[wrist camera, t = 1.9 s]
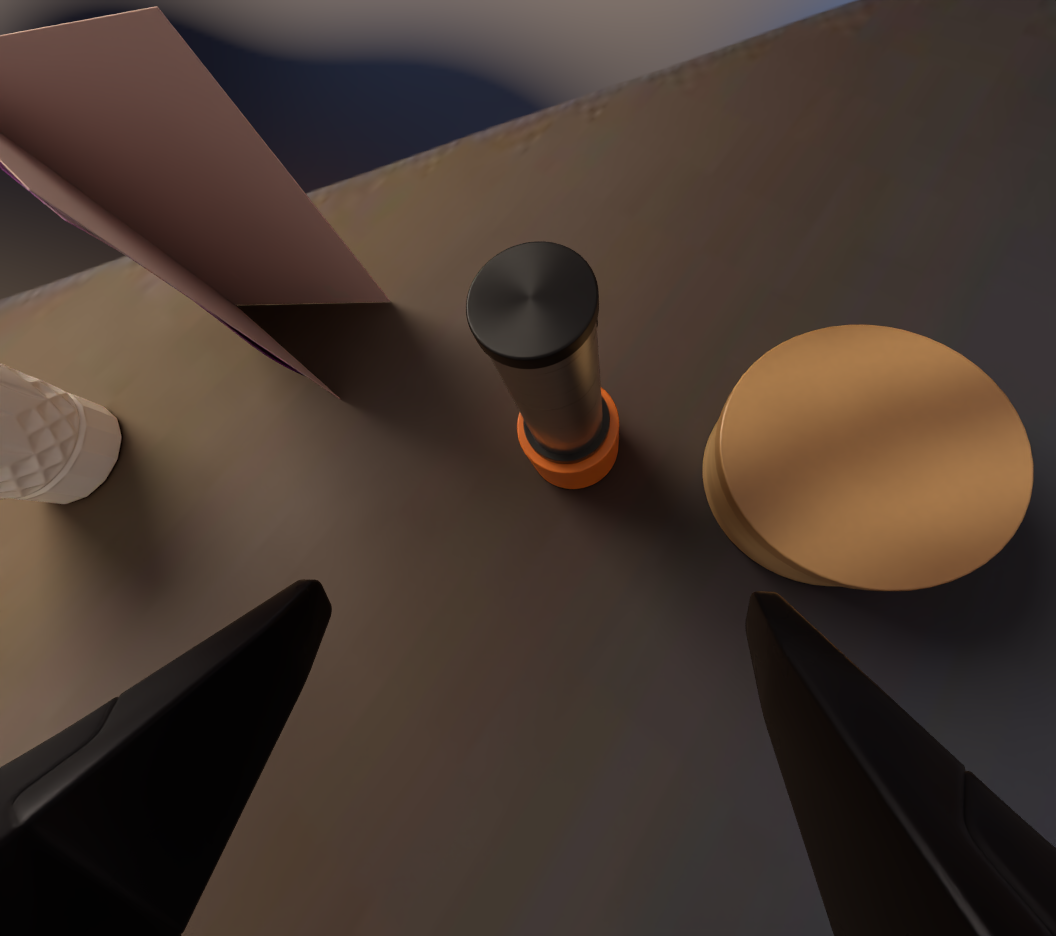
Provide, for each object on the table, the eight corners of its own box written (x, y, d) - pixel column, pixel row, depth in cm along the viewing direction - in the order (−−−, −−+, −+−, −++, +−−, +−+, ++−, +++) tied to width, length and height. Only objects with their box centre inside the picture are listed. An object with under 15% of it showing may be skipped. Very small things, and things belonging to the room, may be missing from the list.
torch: (586, 506, 23) (553, 416, 10) (513, 459, 24) (409, 329, 12) (636, 432, 23) (660, 263, 11) (562, 390, 24) (510, 196, 12)
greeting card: (225, 314, 30) (-124, 72, 16) (300, 233, 31) (28, -70, 16) (330, 410, 27) (6, 212, 13) (413, 318, 27) (193, 27, 13)
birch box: (1001, 518, 19) (1112, 499, 15) (785, 632, 20) (833, 646, 15) (841, 337, 22) (895, 279, 18) (657, 439, 23) (668, 405, 19)
